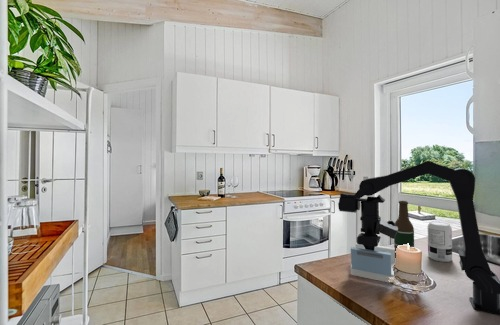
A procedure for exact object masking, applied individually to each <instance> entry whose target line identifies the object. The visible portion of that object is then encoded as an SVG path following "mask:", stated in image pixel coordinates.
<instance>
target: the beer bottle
mask: <svg viewBox="0 0 500 325" xmlns="http://www.w3.org/2000/svg"><path fill="white" fill-rule="evenodd" d="M408 205H409V202H408V201H407V200H399V201H398V218H396V221H394V223H395V226H397V227H398V231H397V234H396V236H395V239H393V248H395V251H396V248H397V246H398V245H403V244H407V243H409V245H410V247H414V248H415V228H414V225H413V223H412V222H411V220H410V216H409V209H408Z"/></svg>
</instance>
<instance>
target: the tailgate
mask: <svg viewBox="0 0 500 325" xmlns="http://www.w3.org/2000/svg"><path fill="white" fill-rule="evenodd" d="M350 262H351V263H350V264H351V265H352V269H357V270H362V271H367V272H372V273H377V274H382V275H387V276H391V253H387V252H380V251H374V250H367V249H361V248H356V247H353V246H351V247H350Z"/></svg>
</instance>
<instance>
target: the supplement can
mask: <svg viewBox="0 0 500 325" xmlns="http://www.w3.org/2000/svg"><path fill="white" fill-rule="evenodd" d="M427 256H428V257H429V258H430V259H432V261H433V260H434V261H437V262H442V263H449V262H451V261H453V229H452V226H451V225H450V224H449V223H447V222H441V221H430V222H429V223H428V224H427Z"/></svg>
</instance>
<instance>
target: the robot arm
mask: <svg viewBox="0 0 500 325" xmlns="http://www.w3.org/2000/svg"><path fill="white" fill-rule="evenodd" d="M425 175H431V176H434V177H437V178H440V179H442V180H444V181H445V180H446V181H447V182H449V185H450V187H451V191H452V192H453V195H454V198H455V200H456V205H457V210H458V217H459V223H460V229H461V236H462V240H463V250H460V249H458V250H457V253H458V256H459V262H458V263H459V266H460V268H461V271H464V273H465V275H466V277H467V278H469V280H470V281H473V282H472V297H469V301H470V304H471V305H472V308H473V309H474V310H476V311H480V312H487V313H491V314H494V315H498V316H500V279H499V277H498V275H497V274H496V273H495V272H493V270H491V268H490V265H489V262H488V260H487V257H486V255H485V253H484V250H483V249H482V243H481V238H480V232H479V224H478V221H477V220H478V219H477V215H476V209H475V202H474V197H475V192H476V191H475V189H476V177H475V174H474V173H473V172H472V171H470V170H468V169H465V168H461V167H460V168H459V167H458V168H455V169H454V168H451V167H448V166H446V165H445V166H444V165H441V164H438V163H436V162H434V161H432V160H425V161H423V162H422V163H419V164H416V165H413V166H410V167H407V168H404V169H402V170H398V171H396V172H393V173H390V174H387V175H382V176H376V177H370V178H366V179H363V180H362V181H360V184H358V185H359V186H358V188H359V189H358V190H357V191H356V192H355V193H354V194H352V193H344V192H343V193H342V192H341V193H340V194H339V199H338V200H339V201H338V203H337V208H338V211H339V212H345V213H357V211H360V214H361V215H360V217H359V218H360V219H359V220H360V221H361V223H360V224H361V228H360V233H359V234H358V235H357V237H356V243H357V244H361V245H364V247H365V249H367V250H374V249H375V247H377V246H379V243H380V240H381V238H382V237H381V236H380V234H383V235H384V236H387V237H389V238H390V239H391V240H392V239H393V240H394V239H395V236H396V234H397V231H398V227H397V226H395V221H394V220H391V219H390V220H388V221H383V220H382V219H381V218H382V217H381V216H380V208H379V206H380V204H381V203H382V204H383V203H384V202H385V201H386V199H385V198H384V197H382V196H381V194H378V193H379V192H382V191H383V190H385V189H387V188H388V187H391V186H394V185H396V184H397V185H398V184H400V183H403V182H406V181H409V180H413V179H415V178H418V177H422V176H425ZM375 194H378V195H377V196H373V195H375ZM364 196H366V198H363V197H364ZM379 203H380V204H379Z"/></svg>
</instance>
